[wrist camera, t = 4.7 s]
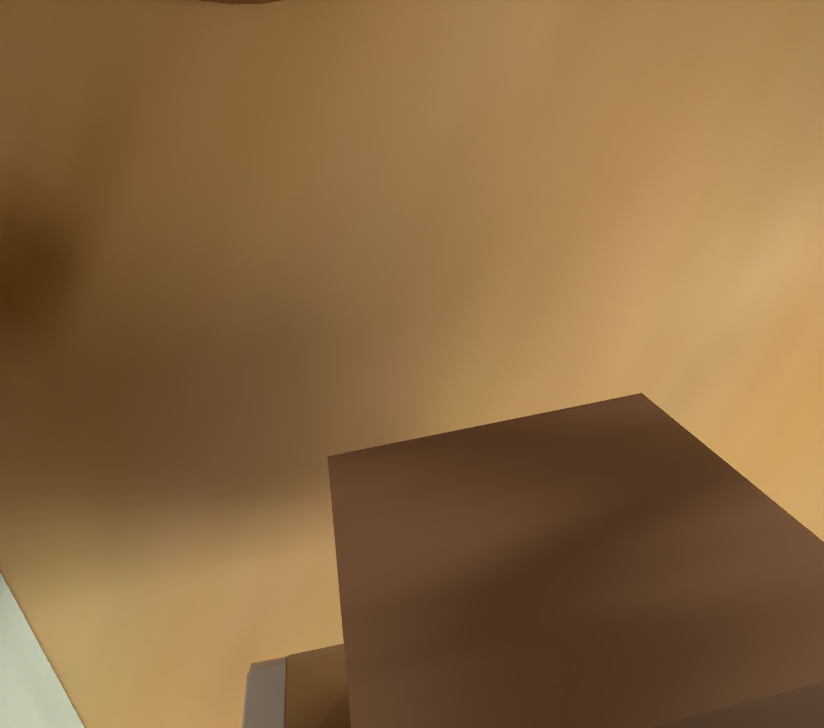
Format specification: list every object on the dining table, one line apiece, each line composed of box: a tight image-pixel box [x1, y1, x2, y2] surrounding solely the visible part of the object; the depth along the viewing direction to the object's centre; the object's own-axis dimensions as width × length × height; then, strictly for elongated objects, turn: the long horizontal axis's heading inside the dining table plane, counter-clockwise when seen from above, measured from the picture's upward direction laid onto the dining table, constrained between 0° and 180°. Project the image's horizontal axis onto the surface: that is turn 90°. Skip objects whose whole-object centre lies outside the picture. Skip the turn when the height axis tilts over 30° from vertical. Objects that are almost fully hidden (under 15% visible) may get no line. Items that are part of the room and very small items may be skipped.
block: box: [328, 393, 824, 728], centre depth 8 cm, size 5×5×5 cm
